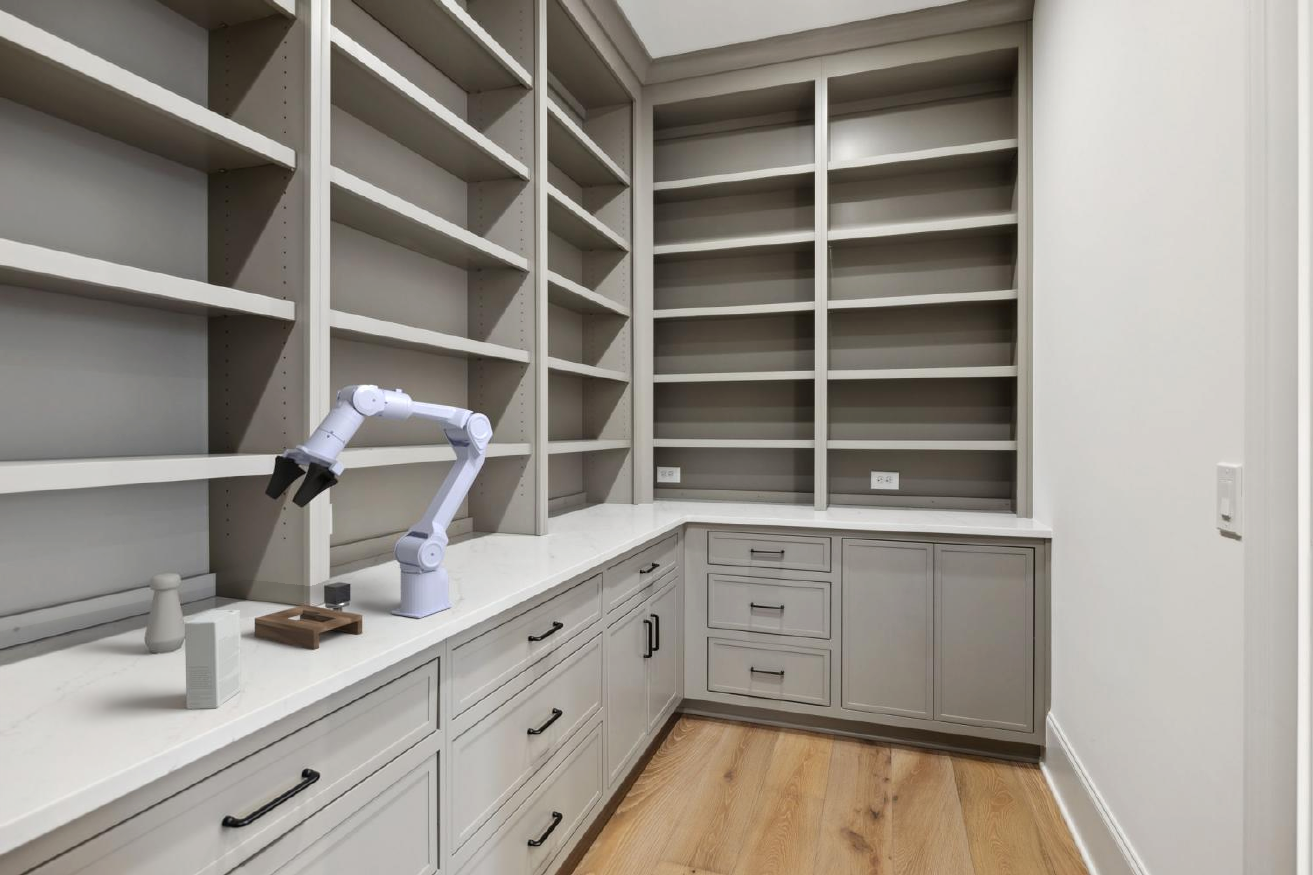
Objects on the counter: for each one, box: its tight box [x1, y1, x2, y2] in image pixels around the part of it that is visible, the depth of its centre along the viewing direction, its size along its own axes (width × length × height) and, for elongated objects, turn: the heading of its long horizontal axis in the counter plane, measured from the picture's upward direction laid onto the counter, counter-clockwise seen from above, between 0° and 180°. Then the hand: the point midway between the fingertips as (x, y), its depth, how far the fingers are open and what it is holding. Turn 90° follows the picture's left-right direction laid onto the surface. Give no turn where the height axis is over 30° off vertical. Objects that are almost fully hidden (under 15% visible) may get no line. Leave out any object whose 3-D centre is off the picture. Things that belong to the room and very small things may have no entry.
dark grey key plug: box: [323, 581, 351, 611], centre depth 131 cm, size 4×4×7 cm
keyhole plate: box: [254, 604, 363, 650], centre depth 120 cm, size 10×16×3 cm, turn 65°
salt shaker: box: [143, 572, 185, 654], centre depth 111 cm, size 6×6×13 cm
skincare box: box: [184, 609, 242, 710], centre depth 91 cm, size 6×4×12 cm
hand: (283, 500), depth 113 cm, fingers open, 7 cm apart
